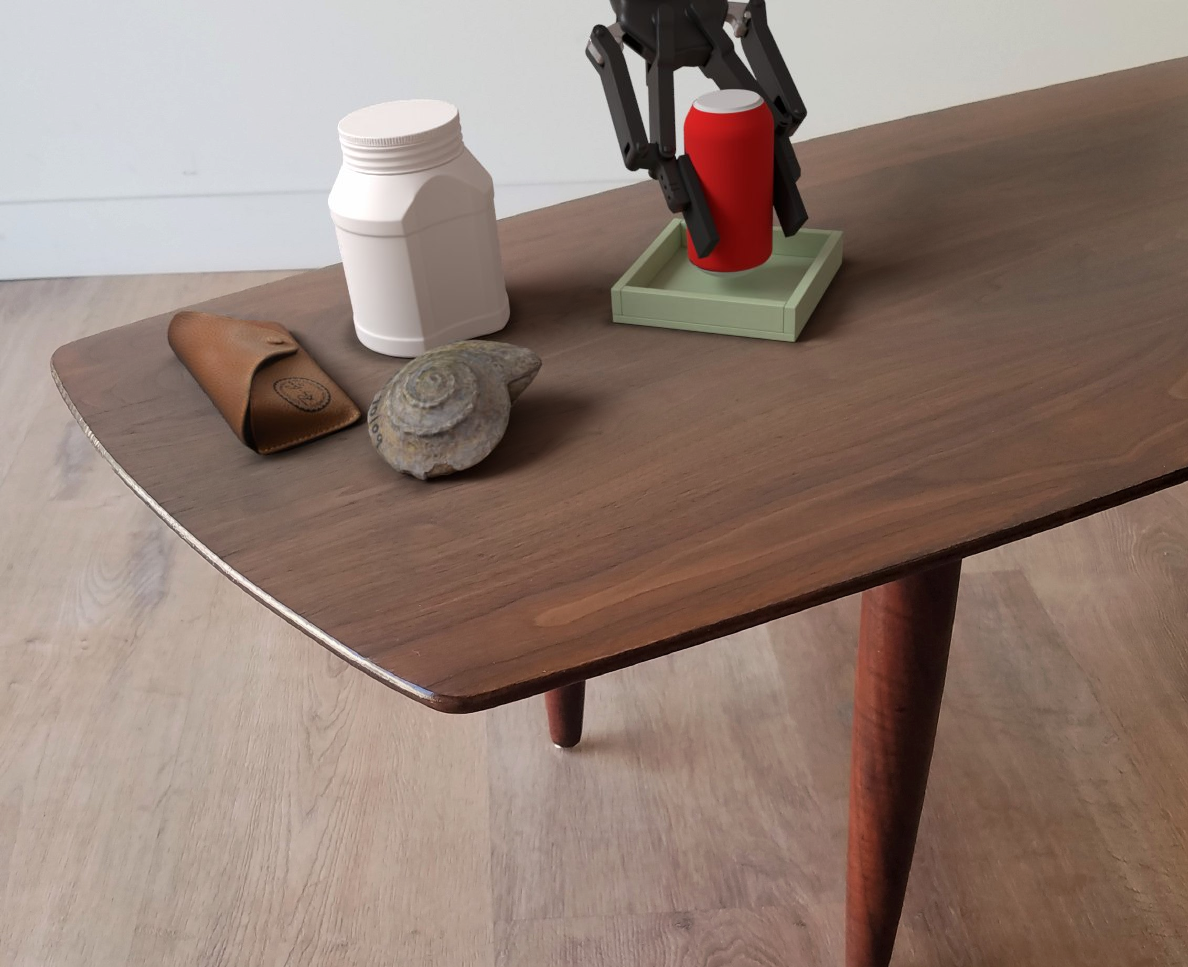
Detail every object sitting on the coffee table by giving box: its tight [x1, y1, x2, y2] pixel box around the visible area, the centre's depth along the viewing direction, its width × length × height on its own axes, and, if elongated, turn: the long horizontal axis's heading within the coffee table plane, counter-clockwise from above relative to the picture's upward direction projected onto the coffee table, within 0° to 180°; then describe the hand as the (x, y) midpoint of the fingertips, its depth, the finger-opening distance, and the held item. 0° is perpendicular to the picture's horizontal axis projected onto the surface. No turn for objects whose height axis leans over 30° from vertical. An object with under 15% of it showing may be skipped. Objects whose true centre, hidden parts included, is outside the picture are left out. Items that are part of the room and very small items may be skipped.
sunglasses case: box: [166, 310, 362, 456], centre depth 84 cm, size 18×7×7 cm
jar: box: [327, 98, 511, 359], centre depth 87 cm, size 12×10×15 cm
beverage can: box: [682, 89, 774, 278], centre depth 87 cm, size 6×6×12 cm
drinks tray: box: [610, 217, 844, 343], centre depth 91 cm, size 14×14×3 cm
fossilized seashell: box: [367, 339, 543, 481], centre depth 77 cm, size 11×11×7 cm
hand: (753, 238), depth 86 cm, fingers closed on beverage can, 6 cm apart
